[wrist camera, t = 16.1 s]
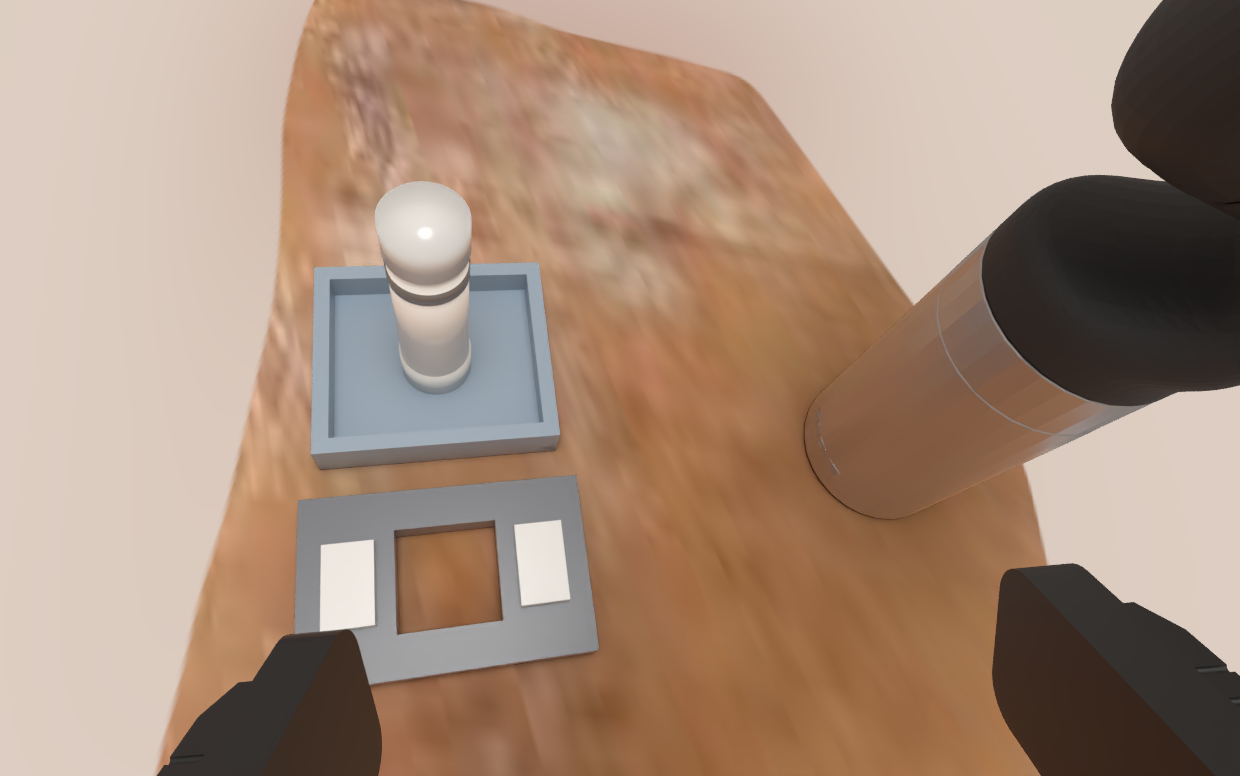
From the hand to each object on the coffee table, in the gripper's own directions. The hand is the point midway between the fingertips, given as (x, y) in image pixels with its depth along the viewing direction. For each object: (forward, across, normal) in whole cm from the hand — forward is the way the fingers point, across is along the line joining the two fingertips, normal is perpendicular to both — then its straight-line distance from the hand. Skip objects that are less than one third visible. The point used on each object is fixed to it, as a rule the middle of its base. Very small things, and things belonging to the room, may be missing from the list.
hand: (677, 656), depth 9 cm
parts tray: (+32, +11, +6) cm, 35 cm away
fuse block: (+24, +11, +14) cm, 30 cm away
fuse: (+32, +11, +5) cm, 34 cm away
